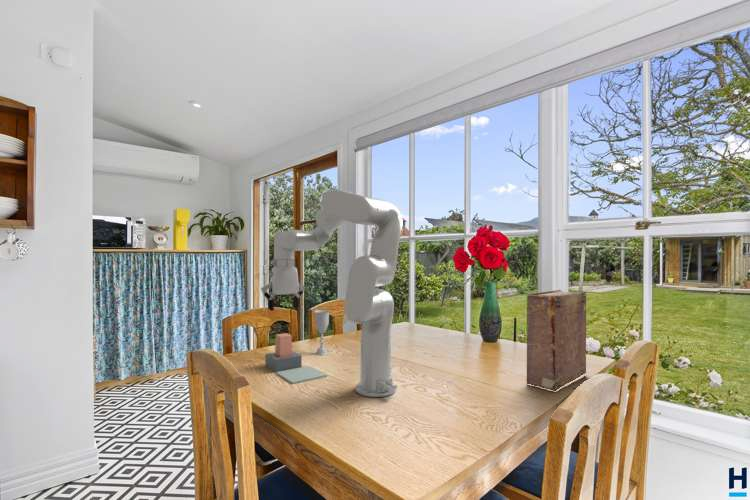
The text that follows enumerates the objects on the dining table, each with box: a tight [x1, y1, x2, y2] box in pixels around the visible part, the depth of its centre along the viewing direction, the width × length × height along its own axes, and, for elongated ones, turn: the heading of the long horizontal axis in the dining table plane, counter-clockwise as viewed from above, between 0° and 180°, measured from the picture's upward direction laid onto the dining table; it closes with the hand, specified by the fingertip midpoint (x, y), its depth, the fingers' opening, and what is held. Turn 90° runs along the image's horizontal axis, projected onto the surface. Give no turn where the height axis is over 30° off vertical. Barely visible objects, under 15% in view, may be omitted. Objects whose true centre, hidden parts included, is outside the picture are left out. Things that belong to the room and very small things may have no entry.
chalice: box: [313, 309, 331, 356], centre depth 163 cm, size 7×7×18 cm
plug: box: [274, 332, 293, 357], centre depth 144 cm, size 4×4×12 cm
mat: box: [275, 365, 328, 385], centre depth 134 cm, size 13×13×1 cm
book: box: [526, 289, 587, 391], centre depth 130 cm, size 25×9×30 cm, turn 131°
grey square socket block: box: [264, 350, 303, 373], centre depth 144 cm, size 10×10×4 cm
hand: (283, 309), depth 144 cm, fingers open, 9 cm apart
